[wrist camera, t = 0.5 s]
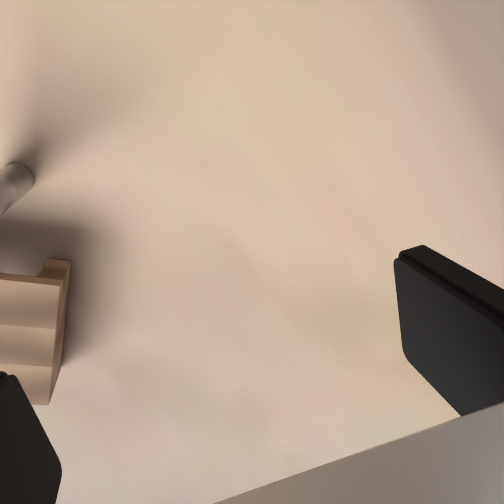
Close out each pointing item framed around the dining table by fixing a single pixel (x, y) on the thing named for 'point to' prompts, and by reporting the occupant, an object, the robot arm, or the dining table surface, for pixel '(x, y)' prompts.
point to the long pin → (13, 184)
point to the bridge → (34, 327)
